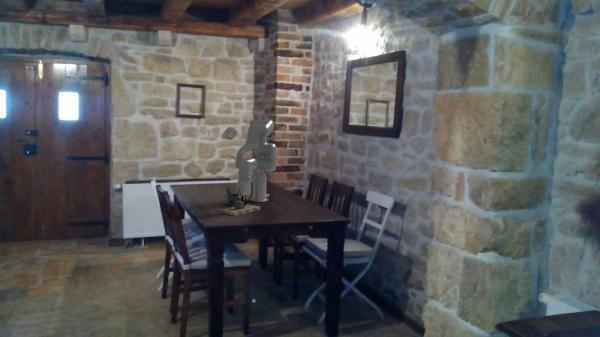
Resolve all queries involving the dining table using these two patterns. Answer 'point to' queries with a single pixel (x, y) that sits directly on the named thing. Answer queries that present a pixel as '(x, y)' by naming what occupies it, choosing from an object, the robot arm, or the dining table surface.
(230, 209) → the fader board
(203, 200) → the dining table surface
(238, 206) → the fader knob
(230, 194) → the mortar and pestle
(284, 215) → the dining table surface
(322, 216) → the dining table surface
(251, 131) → the robot arm
